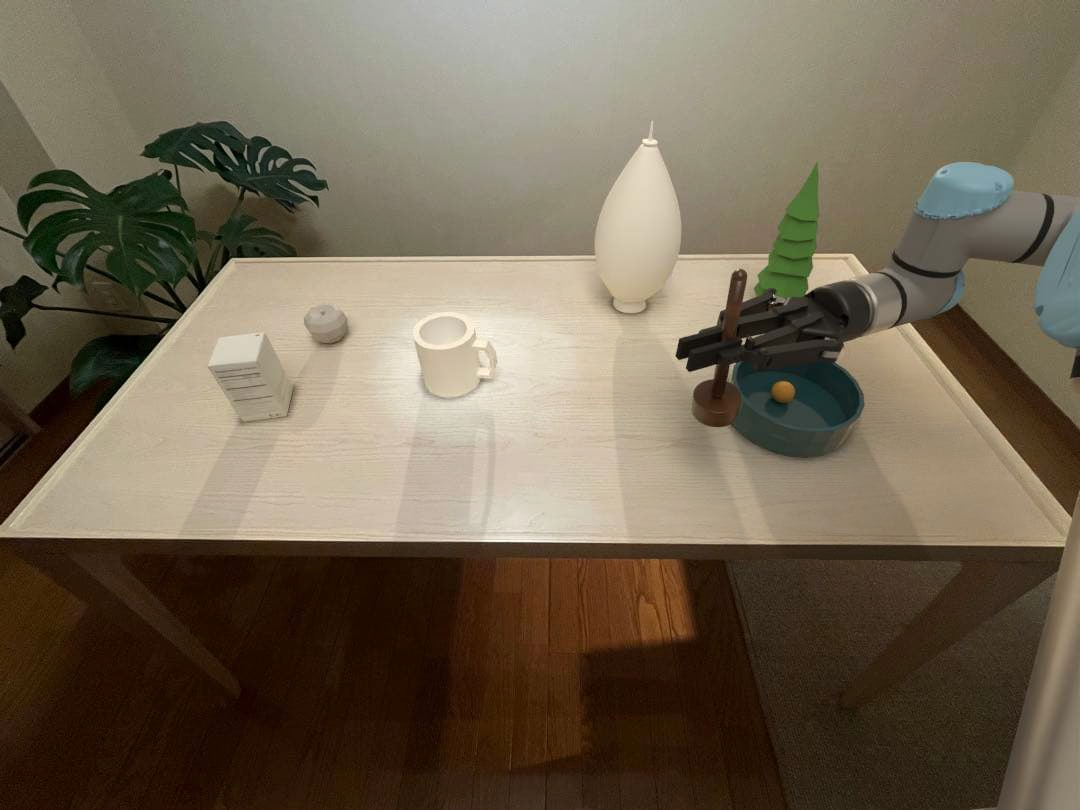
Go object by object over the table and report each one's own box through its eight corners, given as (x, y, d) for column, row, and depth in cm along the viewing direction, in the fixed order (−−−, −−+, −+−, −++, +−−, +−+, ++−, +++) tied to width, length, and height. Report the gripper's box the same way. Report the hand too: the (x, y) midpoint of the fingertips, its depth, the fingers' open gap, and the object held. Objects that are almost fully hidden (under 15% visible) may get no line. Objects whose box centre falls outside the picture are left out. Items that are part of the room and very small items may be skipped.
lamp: (586, 284, 114) (595, 106, 89) (659, 281, 114) (688, 103, 89) (596, 329, 102) (609, 139, 78) (676, 325, 103) (715, 135, 78)
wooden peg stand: (747, 417, 68) (784, 275, 52) (707, 433, 68) (732, 294, 51) (721, 388, 72) (747, 248, 56) (682, 403, 72) (699, 264, 55)
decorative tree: (743, 302, 108) (790, 150, 86) (790, 304, 107) (849, 151, 86) (752, 331, 101) (805, 174, 80) (802, 333, 100) (870, 175, 79)
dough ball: (791, 388, 87) (790, 407, 86) (768, 385, 88) (767, 404, 87) (798, 379, 84) (797, 399, 83) (775, 376, 85) (773, 396, 84)
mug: (504, 363, 96) (500, 315, 88) (492, 402, 89) (486, 354, 81) (433, 356, 98) (423, 309, 90) (416, 394, 90) (403, 346, 83)
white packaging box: (251, 392, 92) (217, 335, 83) (294, 387, 92) (266, 330, 83) (241, 423, 86) (204, 366, 77) (287, 417, 87) (256, 360, 78)
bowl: (876, 436, 82) (894, 409, 78) (773, 473, 77) (786, 447, 73) (793, 361, 95) (804, 335, 90) (700, 389, 90) (707, 363, 86)
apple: (309, 353, 99) (297, 325, 94) (312, 329, 104) (301, 301, 100) (353, 347, 100) (343, 319, 95) (353, 323, 105) (344, 295, 101)
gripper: (879, 368, 63) (713, 420, 58) (797, 304, 73) (648, 343, 67) (909, 317, 58) (729, 370, 52) (817, 255, 68) (657, 294, 62)
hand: (684, 355), depth 60 cm, fingers closed on wooden peg stand, 2 cm apart
